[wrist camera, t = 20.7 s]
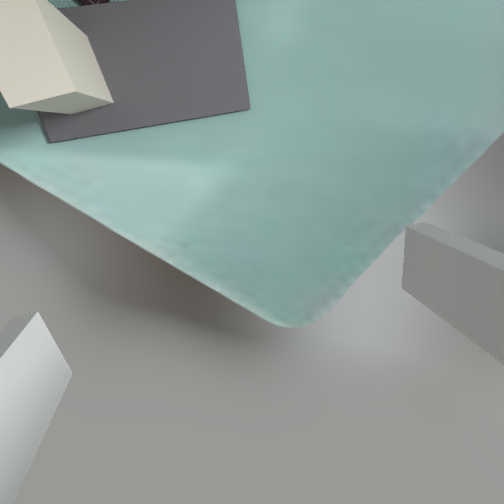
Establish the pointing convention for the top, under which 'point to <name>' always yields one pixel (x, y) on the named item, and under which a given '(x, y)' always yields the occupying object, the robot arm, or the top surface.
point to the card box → (47, 61)
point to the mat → (158, 64)
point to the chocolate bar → (93, 2)
